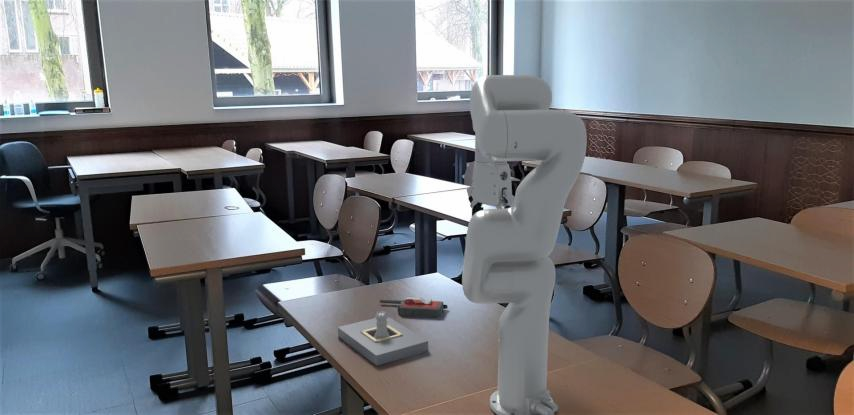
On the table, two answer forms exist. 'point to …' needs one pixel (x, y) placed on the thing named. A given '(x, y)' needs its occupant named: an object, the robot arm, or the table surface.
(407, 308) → the red gray switch box
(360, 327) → the socket board
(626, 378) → the table surface
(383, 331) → the rook chess piece
